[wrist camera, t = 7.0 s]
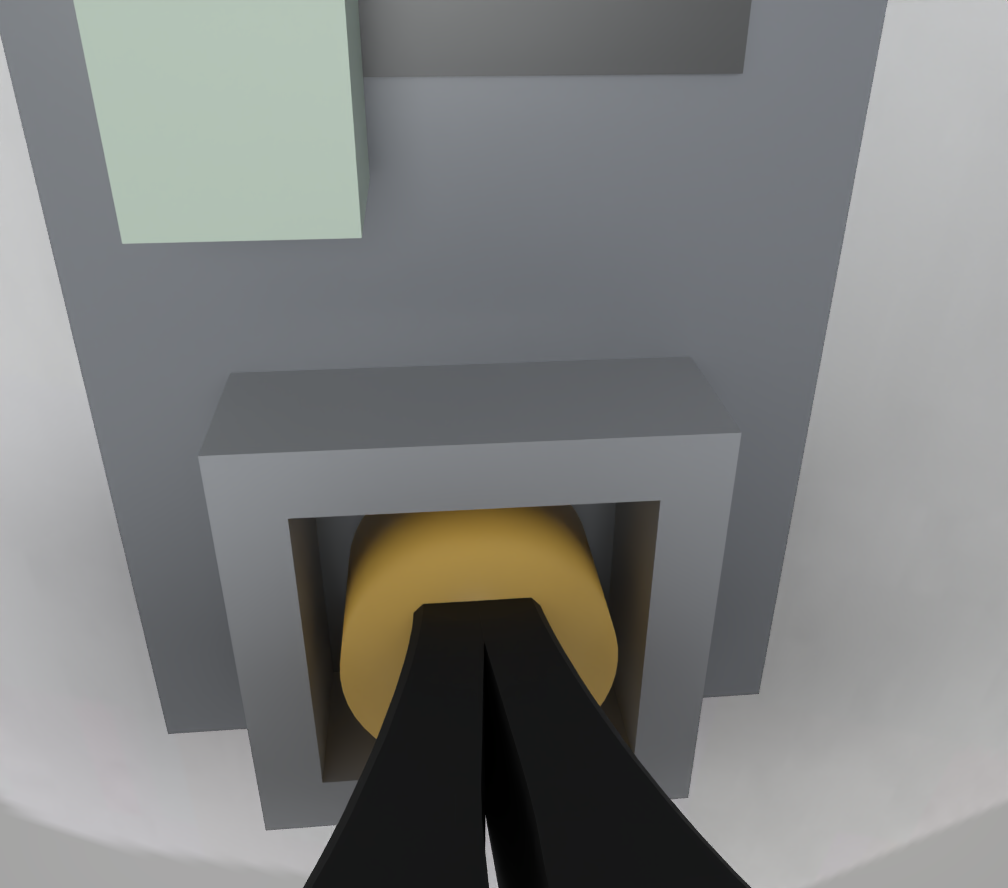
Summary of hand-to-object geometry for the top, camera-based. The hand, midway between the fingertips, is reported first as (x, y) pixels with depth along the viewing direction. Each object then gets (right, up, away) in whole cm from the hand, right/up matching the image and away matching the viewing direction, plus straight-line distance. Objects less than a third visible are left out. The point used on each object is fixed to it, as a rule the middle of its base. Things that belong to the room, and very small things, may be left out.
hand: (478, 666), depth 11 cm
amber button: (0, +1, +2) cm, 2 cm away
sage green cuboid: (-2, +7, -1) cm, 7 cm away
